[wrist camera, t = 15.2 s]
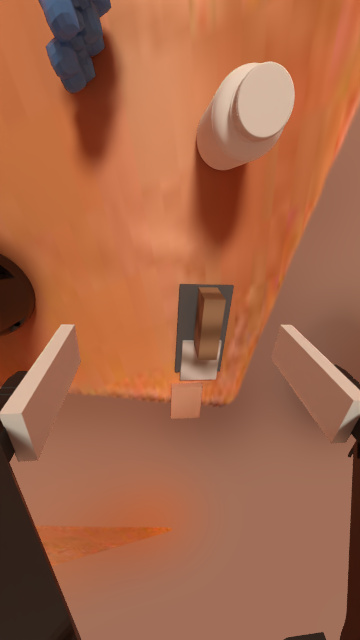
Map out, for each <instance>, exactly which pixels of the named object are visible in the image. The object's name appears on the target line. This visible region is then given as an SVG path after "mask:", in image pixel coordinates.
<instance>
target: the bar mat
mask: <svg viewBox="0 0 360 640" xmlns="http://www.w3.org/2000/svg"><path fill="white" fill-rule="evenodd" d="M199 287H217V288H218V289H219V291H220V292H221V294H222V295H223V297H224V298H225V300H226V303H225V309H224V316H223V322H222V329H221V335H220V340H221V341H222V343H221V349H220V355H219V361H218V368H217V371H220V366H221V360H222V354H223V348H224V342H225V336H226V330H227V324H228V318H229V312H230V306H231V300H232V294H233V288H234V286H233V285H197V284H180V289H179V306H178V324H177V342H176V359H175V372H180V371H181V357H182V342H183V340H194V330H195V320H196V309H197V298H198V288H199Z"/></svg>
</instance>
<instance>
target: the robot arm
mask: <svg viewBox="0 0 360 640" xmlns="http://www.w3.org/2000/svg"><path fill="white" fill-rule="evenodd" d="M34 306H35V295H34V291H33V288H32V285H31V283H30V281H29V280H28V278H27V276H26V275H25V274H24V272H23V271H22V270H21V269H20V268H19V267H18V266H17V265H16V264H15V263H13V262H12V261H11V260H9V259H8V258H6V257H5V256H3V255H1V254H0V336H3V335H6V334H9V333H11V332H13V331H15V330H17V329H18V328H20V327H21V326H22V325H23V324H24V323H25V322H26V321H27V320H28V319H29V318H30V316H31V315H32V313H33V310H34ZM271 359H272V361H273V362H274V363H275V365H276V366H277V368H278V369H279V370H280V372H281V373H282V375H283V376H284V377H285V379H286V380H287V382H288V383H289V384H290V386H291V387H292V389H293V390H294V392H295V393H296V394H297V396H298V397H299V399H300V400H301V401H302V403H303V404H304V405H305V407H306V408H307V410H308V411H309V413H310V414H311V415H312V417H313V418H314V419H315V421H316V423H317V424H318V425H319V427H320V428H321V429H322V431H323V432H324V434H325V435H326V437H327V438H328V439H329V441H330V442H331V443H345V442H347V440H348V438H349V436H350V435H351V434H352V435H353V436H354V438H355V439H356V442H355V444H354V445H353V447H352V449H351V450H350V452H349V454H348V457H351V455H352V454H353V477H352V500H351V523H350V525H351V526H350V547H349V572H348V594H347V614H346V620H345V624H344V626H343V629H342V632H341V636H340V640H360V384H359V382H358V381H356V380H355V379H353V377H352V376H351V375H350V374H349V373H348V372H347V371H346V370H344V369H342V368H341V367H339V366H337V365H333V364H332V363H331V362H330V361H329V360H328V359H327V358H326V357H324V356H323V355H322V354H321V353H320V352H319V351H318V350H317V349H316V348H315V347H314V346H313V345H312V344H311V343H310V342H309V341H308V340H307V339H306V338H305V337H304V336H303V335H301V334H300V333H299V332H298V331H297V330H296V329H295V328H294V327H293V326H292V325H280V329H279V332H278V336H277V339H276V343H275V346H274V350H273V353H272V357H271ZM80 362H81V360H80V354H79V348H78V342H77V336H76V330H75V325H61V326H60V327H59V329H58V330H57V331H56V333H55V334H54V336H53V337H52V338H51V340H50V341H49V343H48V344H47V346H46V347H45V348H44V350H43V351H42V353H41V354H40V356H39V357H38V358H37V360H36V361H35V363H34V364H33V366H32V367H31V368H30V370H29V371H18V372H17V373H15V374H14V375H13V376H11V377H10V378H8V380H7V381H6V382H5V383H4V385H3V386H2V388H1V389H0V640H81V638H80V635H79V633H78V630H77V628H76V625H75V623H74V620H73V618H72V616H71V613H70V611H69V608H68V606H67V603H66V601H65V599H64V596H63V593H62V591H61V589H60V586H59V584H58V581H57V579H56V576H55V574H54V571H53V569H52V566H51V564H50V561H49V559H48V556H47V554H46V552H45V549H44V547H43V544H42V542H41V539H40V537H39V534H38V532H37V529H36V527H35V525H34V522H33V520H32V517H31V515H30V512H29V510H28V507H27V505H26V502H25V500H24V498H23V495H22V493H21V490H20V488H19V485H18V483H17V481H16V478H15V475H14V473H13V471H12V468H11V466H10V463H9V462H10V460H11V458H12V457H13V455H14V453H15V455H16V457H17V460H18V461H34V460H38V459H39V457H40V455H41V452H42V450H43V447H44V445H45V443H46V440H47V438H48V436H49V434H50V431H51V429H52V427H53V424H54V422H55V419H56V417H57V415H58V413H59V410H60V408H61V406H62V404H63V401H64V399H65V396H66V394H67V392H68V390H69V387H70V385H71V383H72V381H73V378H74V376H75V374H76V371H77V369H78V367H79V364H80ZM284 640H326V638H325V636H324V633H323V632H321V633H314V634H308V635H302V636H295V637H288V638H286V639H284Z"/></svg>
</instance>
